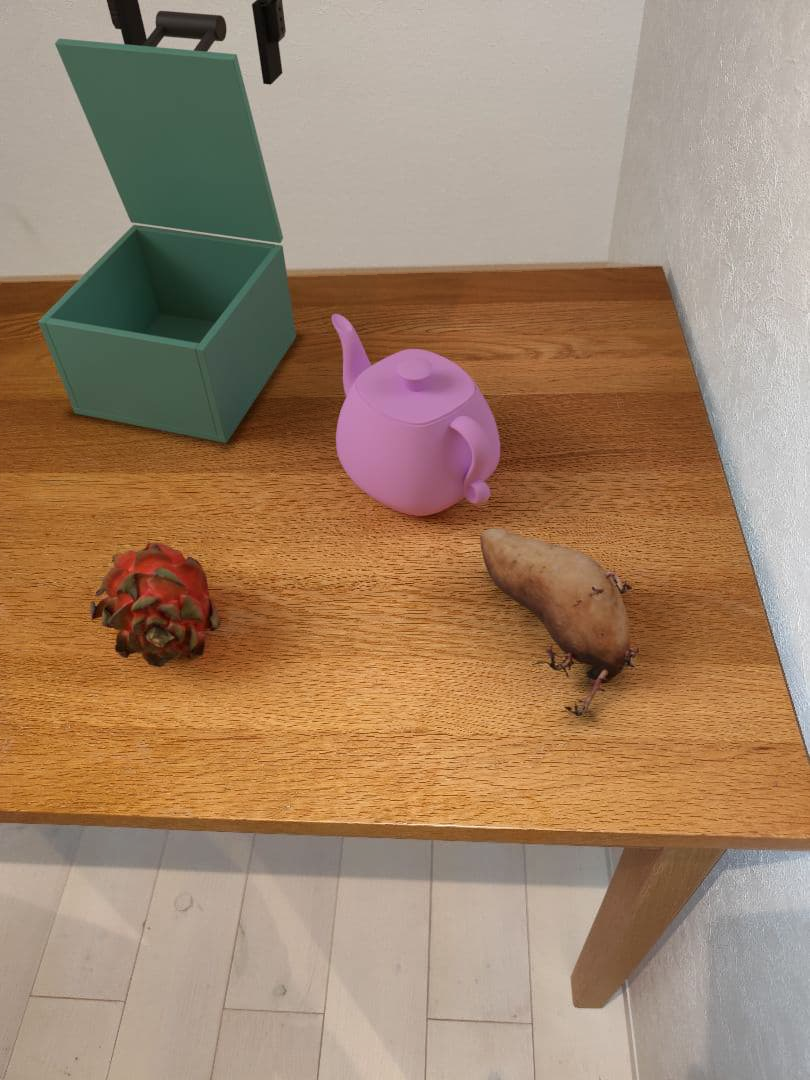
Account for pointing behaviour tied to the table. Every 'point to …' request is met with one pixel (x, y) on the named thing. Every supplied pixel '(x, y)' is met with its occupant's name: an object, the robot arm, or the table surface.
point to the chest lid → (176, 129)
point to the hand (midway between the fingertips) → (206, 72)
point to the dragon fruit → (157, 604)
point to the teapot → (413, 429)
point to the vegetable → (565, 602)
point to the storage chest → (173, 331)
